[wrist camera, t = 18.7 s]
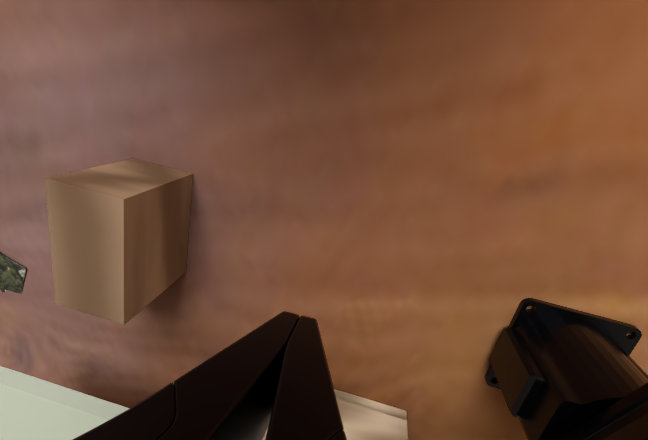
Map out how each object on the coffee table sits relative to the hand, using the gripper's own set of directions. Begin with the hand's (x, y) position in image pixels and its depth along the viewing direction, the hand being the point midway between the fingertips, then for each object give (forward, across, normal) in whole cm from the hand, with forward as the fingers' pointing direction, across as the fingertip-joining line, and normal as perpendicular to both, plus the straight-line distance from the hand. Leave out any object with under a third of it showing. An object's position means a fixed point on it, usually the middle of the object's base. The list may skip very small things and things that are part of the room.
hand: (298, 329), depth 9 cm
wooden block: (+12, +12, +4) cm, 17 cm away
